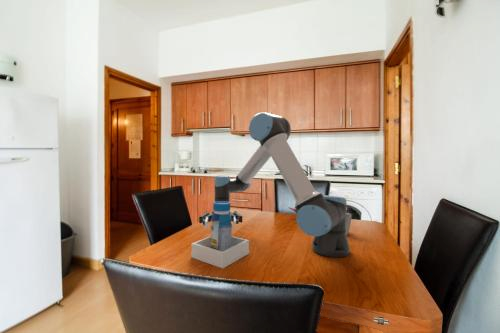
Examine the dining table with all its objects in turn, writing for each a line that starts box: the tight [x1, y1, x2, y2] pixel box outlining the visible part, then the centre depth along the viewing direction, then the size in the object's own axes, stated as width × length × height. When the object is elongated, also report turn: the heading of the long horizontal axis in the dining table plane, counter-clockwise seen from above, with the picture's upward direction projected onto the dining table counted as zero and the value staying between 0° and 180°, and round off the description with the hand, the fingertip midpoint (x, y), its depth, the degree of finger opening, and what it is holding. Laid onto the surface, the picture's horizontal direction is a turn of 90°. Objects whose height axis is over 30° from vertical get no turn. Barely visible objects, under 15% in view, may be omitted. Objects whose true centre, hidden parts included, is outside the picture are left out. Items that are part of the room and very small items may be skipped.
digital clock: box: [346, 212, 353, 236], centre depth 130 cm, size 16×9×11 cm, turn 28°
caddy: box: [190, 235, 250, 269], centre depth 98 cm, size 16×16×6 cm
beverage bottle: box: [210, 201, 233, 252], centre depth 98 cm, size 8×8×20 cm
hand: (220, 224), depth 94 cm, fingers open, 10 cm apart
